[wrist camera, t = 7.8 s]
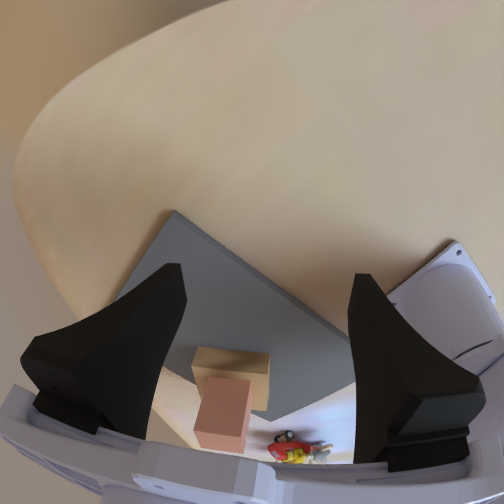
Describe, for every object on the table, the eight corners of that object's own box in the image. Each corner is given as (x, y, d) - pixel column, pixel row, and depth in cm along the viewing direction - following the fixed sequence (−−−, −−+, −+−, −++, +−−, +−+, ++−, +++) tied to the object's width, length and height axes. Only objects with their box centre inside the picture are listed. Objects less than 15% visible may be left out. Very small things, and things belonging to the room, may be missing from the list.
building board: (381, 360, 29) (382, 367, 28) (271, 416, 37) (270, 422, 36) (175, 210, 23) (170, 216, 22) (103, 319, 31) (99, 325, 31)
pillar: (250, 380, 28) (240, 437, 23) (252, 402, 30) (243, 453, 25) (208, 376, 28) (193, 430, 23) (213, 397, 30) (201, 447, 25)
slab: (270, 353, 29) (267, 374, 27) (269, 392, 33) (266, 411, 31) (197, 346, 30) (191, 365, 28) (207, 385, 34) (202, 403, 31)
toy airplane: (268, 428, 40) (262, 468, 34) (333, 425, 37) (332, 466, 32) (279, 450, 44) (275, 484, 39) (335, 448, 42) (334, 483, 37)
